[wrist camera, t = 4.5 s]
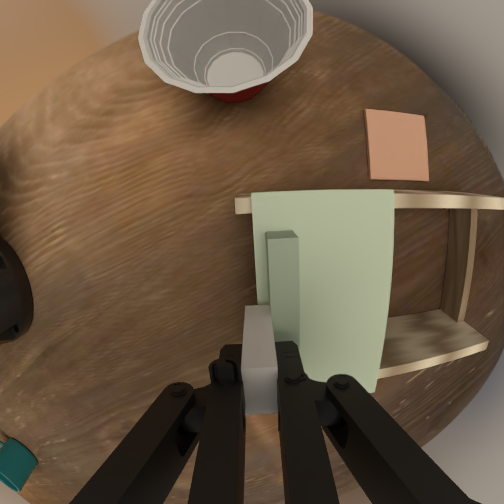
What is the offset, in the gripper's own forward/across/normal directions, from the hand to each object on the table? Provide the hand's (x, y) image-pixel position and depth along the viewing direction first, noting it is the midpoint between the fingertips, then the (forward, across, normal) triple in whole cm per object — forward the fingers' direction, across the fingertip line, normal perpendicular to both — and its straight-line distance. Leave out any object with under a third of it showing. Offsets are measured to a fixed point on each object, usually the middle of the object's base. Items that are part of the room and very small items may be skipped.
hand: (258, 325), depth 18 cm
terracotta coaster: (+11, +15, +12) cm, 22 cm away
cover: (+2, +4, 0) cm, 5 cm away
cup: (+11, -57, -41) cm, 71 cm away
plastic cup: (+11, -1, +19) cm, 22 cm away
